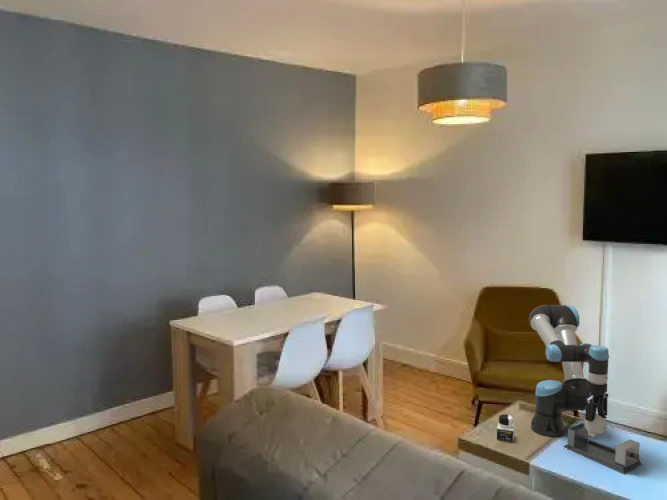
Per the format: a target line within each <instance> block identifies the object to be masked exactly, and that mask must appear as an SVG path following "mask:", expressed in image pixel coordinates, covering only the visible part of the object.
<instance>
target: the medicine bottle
mask: <svg viewBox="0 0 667 500" xmlns="http://www.w3.org/2000/svg"><path fill="white" fill-rule="evenodd" d="M496 440H497V441H503V442H508V443H514V440H515V424H514V418H513V416H512V415H509V414H500V415H499V416H498V423H497V427H496Z"/></svg>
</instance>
